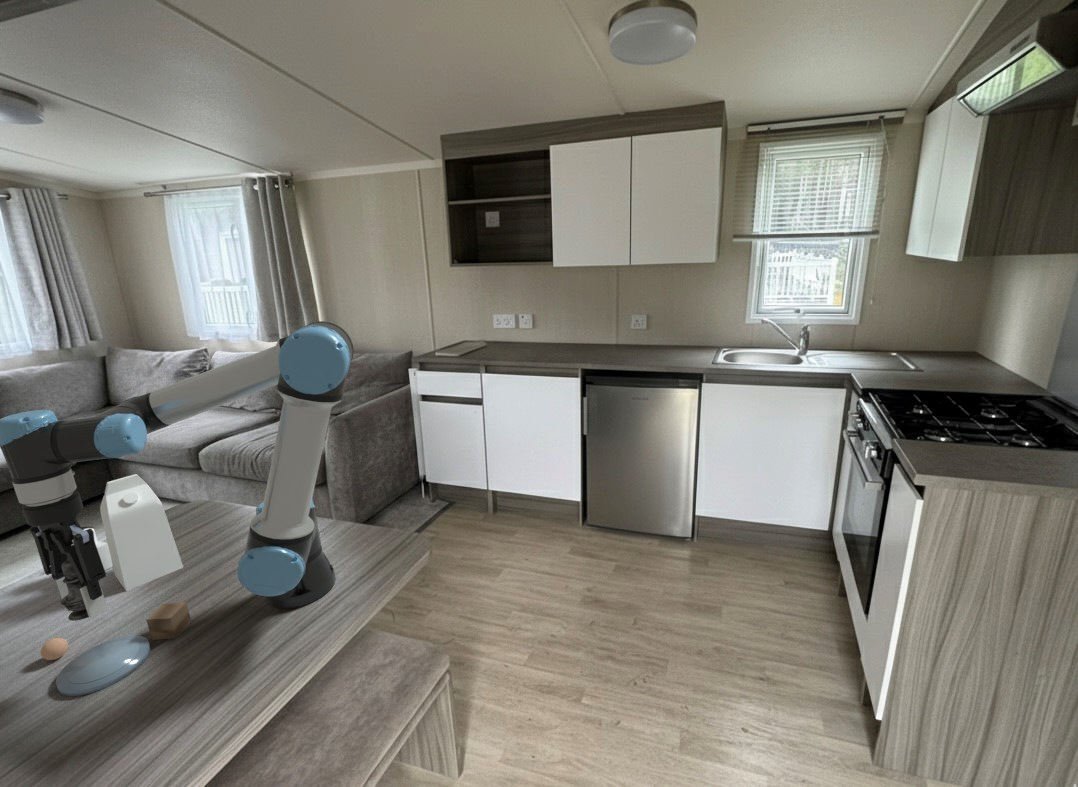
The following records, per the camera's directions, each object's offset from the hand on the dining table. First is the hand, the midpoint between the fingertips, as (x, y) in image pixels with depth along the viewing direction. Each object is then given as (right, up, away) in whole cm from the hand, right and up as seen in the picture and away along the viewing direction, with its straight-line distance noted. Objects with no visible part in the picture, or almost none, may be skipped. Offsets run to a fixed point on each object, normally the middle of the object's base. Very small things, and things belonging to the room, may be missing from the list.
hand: (86, 609), depth 95 cm
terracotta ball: (-12, -11, +6) cm, 17 cm away
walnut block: (+7, -10, +12) cm, 17 cm away
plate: (+1, -13, +3) cm, 13 cm away
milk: (-15, -6, +35) cm, 39 cm away
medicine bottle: (-32, -6, +37) cm, 49 cm away
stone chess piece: (0, -1, 0) cm, 1 cm away
